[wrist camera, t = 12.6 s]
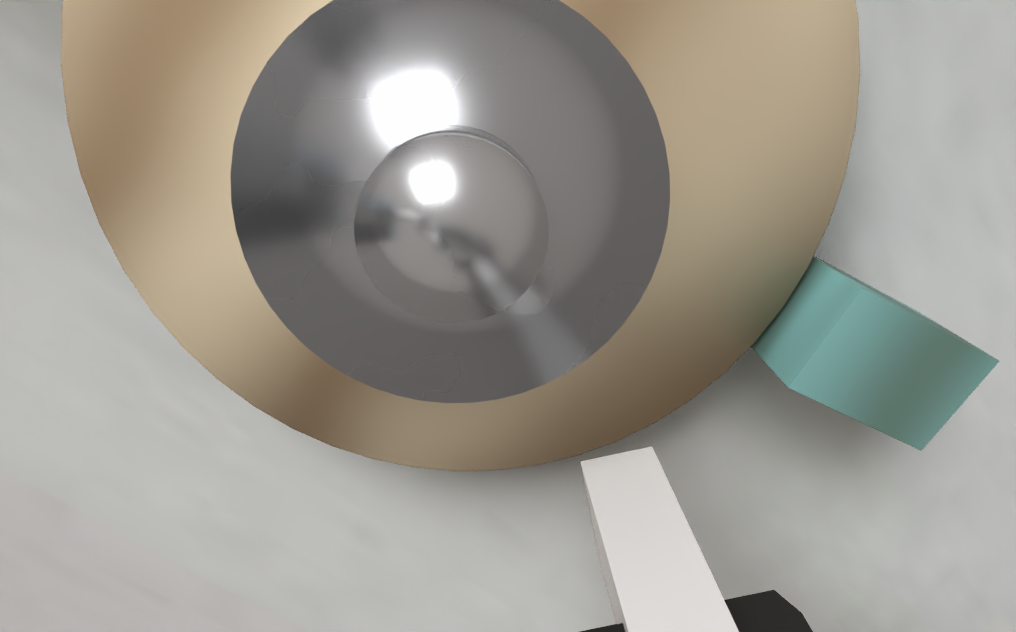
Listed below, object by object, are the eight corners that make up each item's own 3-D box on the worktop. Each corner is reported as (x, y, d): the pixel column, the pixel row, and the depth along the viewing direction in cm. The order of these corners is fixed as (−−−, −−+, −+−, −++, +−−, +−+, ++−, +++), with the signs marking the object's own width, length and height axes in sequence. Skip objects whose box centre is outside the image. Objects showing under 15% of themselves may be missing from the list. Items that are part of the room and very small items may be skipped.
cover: (527, 348, 14) (552, 495, 10) (261, 233, 13) (143, 339, 8) (671, 90, 12) (788, 118, 8) (373, -76, 11) (300, -161, 6)
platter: (34, 290, 15) (-69, 347, 12) (241, -543, 10) (149, -773, 7) (711, 555, 19) (752, 644, 16) (1101, 59, 14) (1258, 64, 11)
